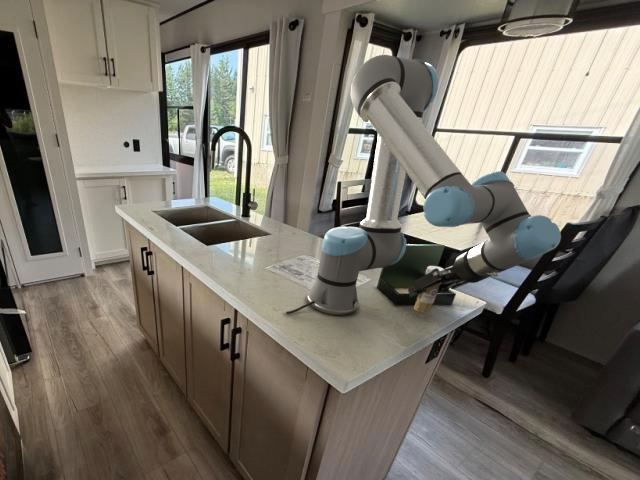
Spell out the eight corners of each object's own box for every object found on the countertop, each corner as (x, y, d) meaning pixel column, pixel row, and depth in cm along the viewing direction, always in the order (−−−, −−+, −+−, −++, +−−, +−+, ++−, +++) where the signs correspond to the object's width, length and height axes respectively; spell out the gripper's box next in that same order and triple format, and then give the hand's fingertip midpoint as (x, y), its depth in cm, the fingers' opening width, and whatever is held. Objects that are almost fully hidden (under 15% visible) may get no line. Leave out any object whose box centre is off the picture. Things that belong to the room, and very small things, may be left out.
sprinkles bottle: (423, 315, 94) (438, 272, 88) (409, 307, 98) (423, 266, 91) (433, 312, 96) (449, 270, 89) (420, 305, 99) (434, 264, 93)
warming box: (395, 305, 103) (410, 258, 96) (376, 287, 114) (388, 244, 107) (451, 304, 106) (470, 258, 98) (428, 287, 117) (443, 244, 109)
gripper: (449, 278, 74) (392, 305, 96) (518, 277, 76) (447, 304, 98) (442, 248, 76) (388, 281, 98) (509, 248, 78) (441, 281, 100)
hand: (417, 293), depth 98 cm, fingers closed on sprinkles bottle, 4 cm apart
